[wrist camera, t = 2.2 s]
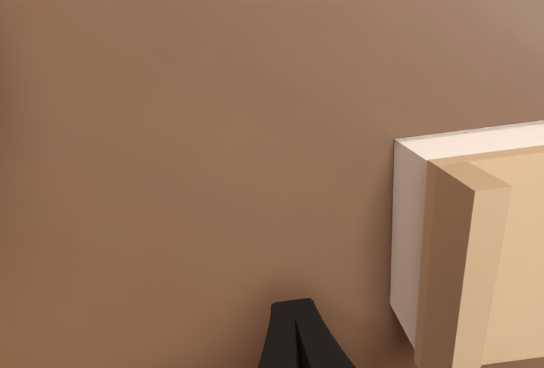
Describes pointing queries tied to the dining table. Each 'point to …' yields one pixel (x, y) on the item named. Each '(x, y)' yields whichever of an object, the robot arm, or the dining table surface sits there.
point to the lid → (482, 260)
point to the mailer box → (412, 199)
